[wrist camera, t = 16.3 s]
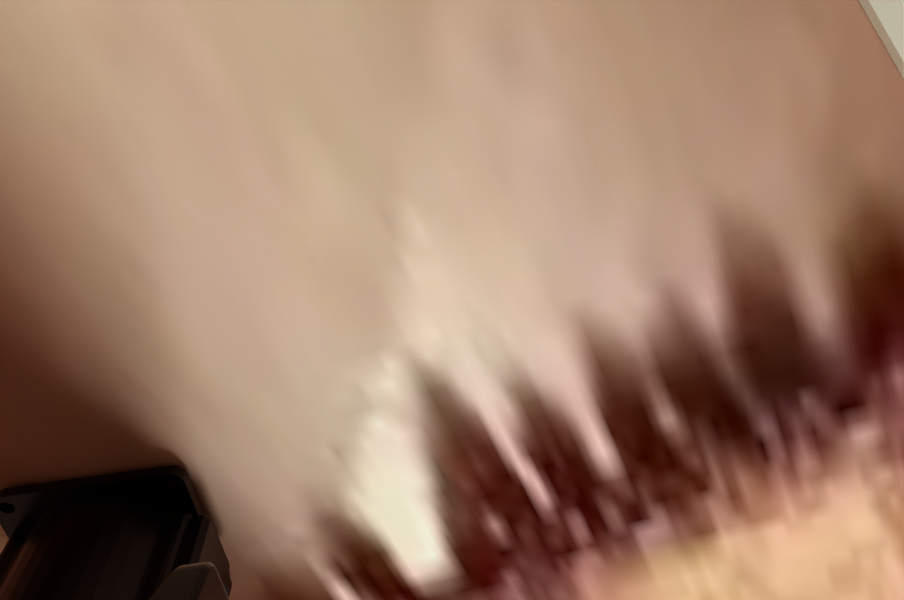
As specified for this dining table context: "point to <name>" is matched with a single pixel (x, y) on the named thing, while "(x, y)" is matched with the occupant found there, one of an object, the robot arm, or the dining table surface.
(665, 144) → the dining table surface
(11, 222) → the dining table surface
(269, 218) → the dining table surface
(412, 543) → the dining table surface
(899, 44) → the mat
